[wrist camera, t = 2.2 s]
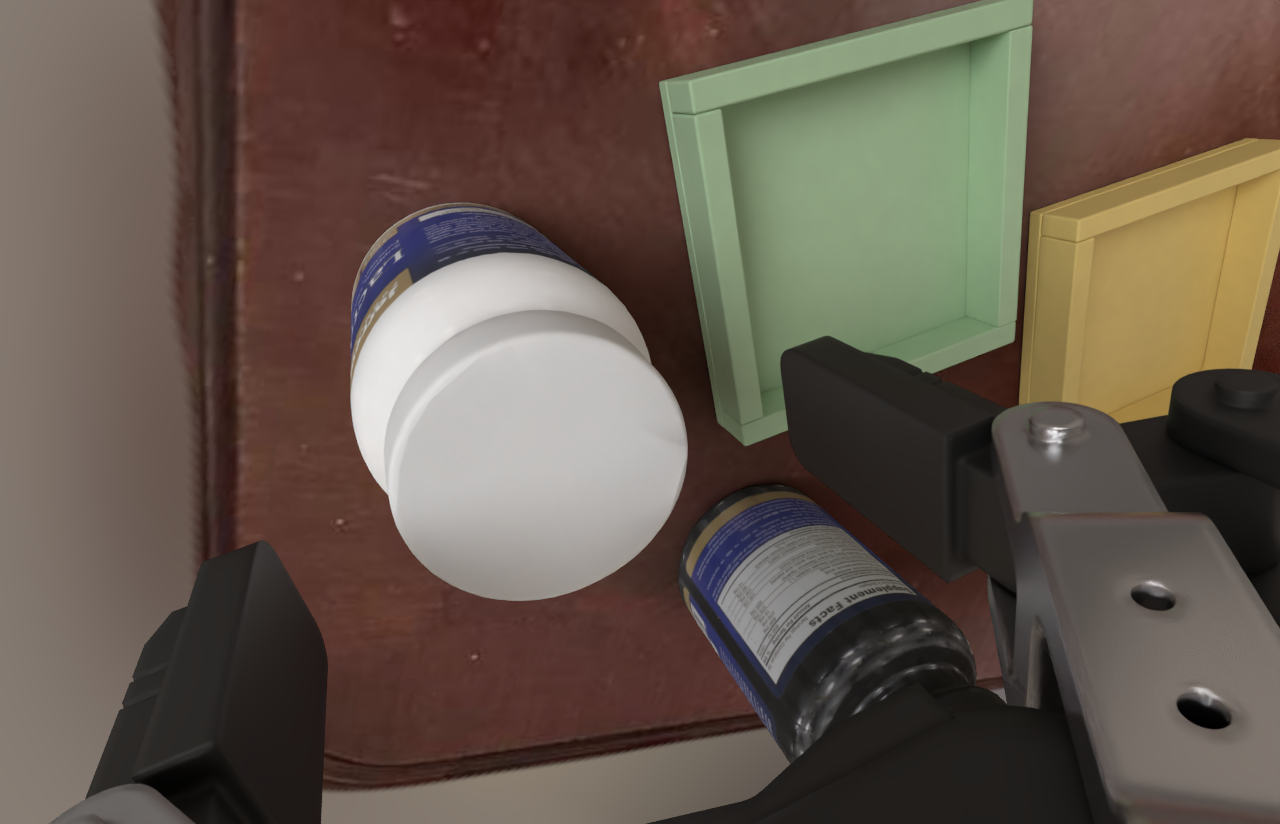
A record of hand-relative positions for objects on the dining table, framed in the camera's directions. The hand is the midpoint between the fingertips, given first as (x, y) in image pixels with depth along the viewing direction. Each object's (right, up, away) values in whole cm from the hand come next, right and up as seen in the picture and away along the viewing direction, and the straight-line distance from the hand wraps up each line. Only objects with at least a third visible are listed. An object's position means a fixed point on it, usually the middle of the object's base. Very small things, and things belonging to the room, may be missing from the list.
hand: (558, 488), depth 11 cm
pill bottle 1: (-4, +4, +9) cm, 10 cm away
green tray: (+8, +7, +12) cm, 16 cm away
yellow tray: (+21, +5, +18) cm, 28 cm away
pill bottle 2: (+5, -4, +16) cm, 17 cm away
